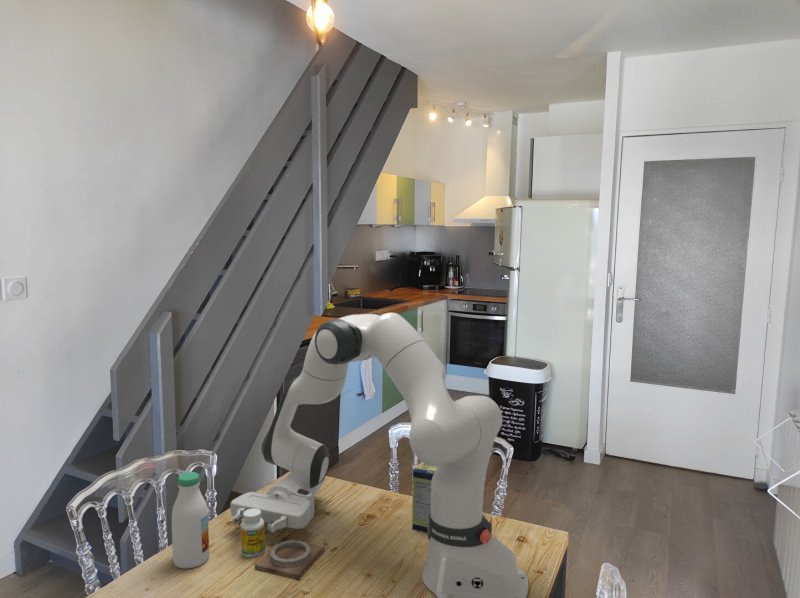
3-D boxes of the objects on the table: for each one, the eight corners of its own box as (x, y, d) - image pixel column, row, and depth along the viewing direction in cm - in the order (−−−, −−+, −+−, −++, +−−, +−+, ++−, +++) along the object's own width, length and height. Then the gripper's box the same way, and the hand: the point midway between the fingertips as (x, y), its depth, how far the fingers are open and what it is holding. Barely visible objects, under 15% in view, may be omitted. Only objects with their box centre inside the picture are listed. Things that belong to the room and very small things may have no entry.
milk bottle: (194, 572, 124) (191, 485, 122) (165, 566, 127) (162, 479, 125) (216, 554, 132) (214, 471, 129) (188, 548, 134) (186, 466, 132)
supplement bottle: (260, 542, 137) (259, 504, 136) (268, 553, 132) (267, 513, 131) (238, 549, 134) (237, 510, 133) (245, 560, 129) (244, 520, 128)
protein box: (468, 510, 154) (469, 455, 152) (450, 538, 140) (452, 477, 138) (431, 503, 158) (432, 449, 156) (411, 529, 144) (411, 470, 142)
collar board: (324, 550, 133) (324, 541, 133) (298, 579, 122) (298, 569, 122) (283, 542, 137) (283, 533, 137) (254, 569, 126) (254, 559, 126)
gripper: (249, 481, 148) (214, 504, 135) (319, 494, 141) (290, 519, 128) (249, 505, 149) (215, 530, 136) (319, 518, 142) (290, 546, 129)
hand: (252, 525), depth 132 cm, fingers open, 8 cm apart
